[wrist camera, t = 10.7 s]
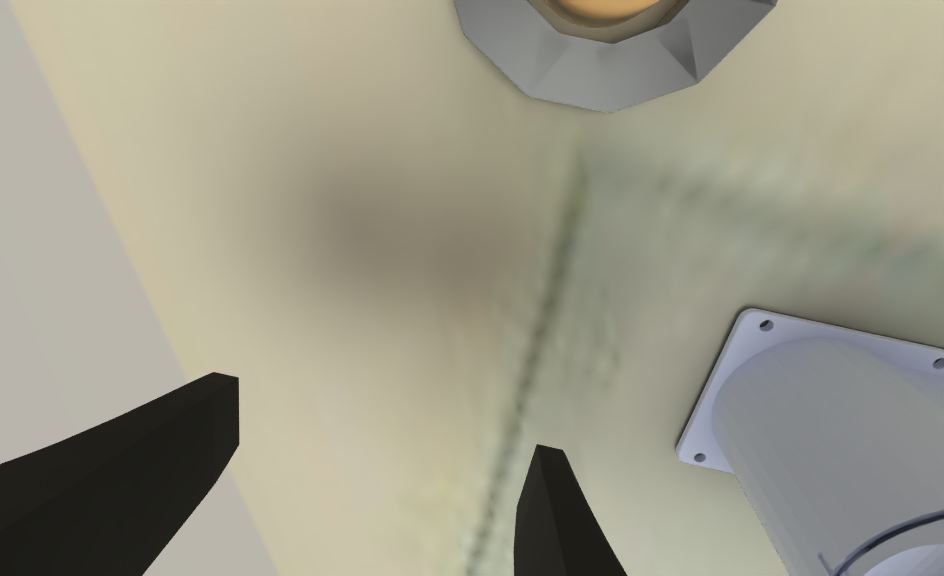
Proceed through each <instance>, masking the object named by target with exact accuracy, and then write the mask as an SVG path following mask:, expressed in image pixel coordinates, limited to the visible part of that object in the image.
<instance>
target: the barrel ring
mask: <svg viewBox="0 0 944 576" xmlns="http://www.w3.org/2000/svg"><path fill="white" fill-rule="evenodd" d="M453 1H454V4H455V7H456V10H457V14H458V17H459V20H460V23H461V27H462V30H463V33H464V35H465V36H466V37H467V38H468V39H469V40H470V41H471V42H472V43H473V44H474V45H475V46H476V47H477V48H478V49H479V50H480V51H481V52H482V53H483V54H484V55H485V56H487V57H488V58H489V59H490V60H491V61H492V62H493V63H494V64H495V65H496V66H497V67H498V68H499V69H500V70H501V71H502V72H503V73H504V74H505V75H506V76H507V77H508V78H509V79H510V80H511V81H512V82H513V83H514V84H515V85H516V86H517V87H519V88H520V89H521V90H522V91H523V92H524V93H525V94H526V95H527V96H529V97H533V98H538V99H543V100H548V101H552V102H557V103H562V104H567V105H571V106H576V107H581V108H586V109H591V110H595V111H600V112H605V113H610V114H611V113H613V112H616V111H619V110H622V109H625V108H628V107H631V106H634V105H637V104H640V103H643V102H646V101H648V100H651V99H654V98H657V97H660V96H663V95H666V94H669V93H672V92H675V91H678V90H681V89H683V88H686V87H689V86H692V85H695V84H698V83H699V82H700V81H701V80H702V79H703V78H704V77H705V76H706V75H707V74H708V73H709V72H710V71H711V70H712V69H713V68H714V67H715V66H716V65H717V64H718V63H719V62H720V61H721V60H722V59H723V58H724V57H725V56H726V55H727V54H728V53H729V52H730V51H731V50H732V49H733V48H734V47H735V46H736V45H737V44H738V43H739V42H740V41H741V40H742V39H743V38H744V37H745V36H746V35H747V34H748V33H749V32H750V31H751V30H752V29H753V28H754V27H755V26H756V25H757V24H758V23H759V22H760V21H761V20H762V19H763V18H764V17H765V16H766V15H767V14H768V13H769V12H770V11H771V10H772V9H773V8H774V7H775V6H776V3H777V1H778V0H679V1H678V2H677V4H676V5H675V6H674V7H673V8H672V9H671V10H670V11H669V12H668V13H667V15H666V16H665V17H664V18H663V19H662V20H661V21H660V22H659V23H658V24H657V26H656V27H655V28H654V29H652V30H650V31H647V32H644V33H642V34H639V35H636V36H634V37H631V38H628V39H626V40H623V41H620V42H618V43H615V44H609V43H604V42H599V41H594V40H589V39H585V38H580V37H575V36H570V35H565V34H560V33H558V32H557V31H556V30H555V29H554V28H553V27H552V26H551V25H550V24H549V23H548V22H547V21H546V20H545V19H544V18H543V16H542V15H541V14H540V13H539V12H538V11H537V10H536V9H535V8H534V7H533V6H532V5H531V4H530V3H529V2H528V1H527V0H453Z"/></svg>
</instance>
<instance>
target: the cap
mask: <svg viewBox="0 0 944 576" xmlns="http://www.w3.org/2000/svg"><path fill="white" fill-rule="evenodd" d="M545 1H546V2H547V4H548V5H549V6H550V7H551V8H552V9H553V10H554V11H555V12H556V13H557V14H558V15H560V16H561V17H562V18H564V19H566V20H567V21H569V22H571V23H574V24H577V25H579V26H584V27H589V28H602V27H610V26H614V25H618V24H620V23H623V22H625V21H628V20H629V19H631V18H633V17H635V16H637V15H638V14H640V13H641V12H643V11H644V10H646V9H647V8H649V7H651V6H652V5H654V4H655V3H657V2H658V1H660V0H545Z"/></svg>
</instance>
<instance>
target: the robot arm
mask: <svg viewBox="0 0 944 576" xmlns="http://www.w3.org/2000/svg"><path fill="white" fill-rule="evenodd" d="M765 320H769V323H768V324H767V325H766V326H764V327H760V324H761V323H762V322H763V321H765ZM939 358H940V359H939ZM937 359H939V360H938V361H937V362H936V363H934V362H935V361H936V360H937ZM933 363H934V364H933ZM238 446H239V378H238V377H234V376H229V375H225V374H220V373H216V372H213V373H210V374H208V375H206V376H203V377H201V378H199V379H197V380H195V381H192V382H190V383H188V384H186V385H184V386H182V387H180V388H178V389H176V390H174V391H171V392H169V393H167V394H165V395H163V396H161V397H159V398H157V399H155V400H153V401H150V402H148V403H146V404H144V405H142V406H140V407H138V408H136V409H133V410H131V411H129V412H127V413H125V414H123V415H121V416H118V417H116V418H114V419H112V420H109V421H107V422H105V423H102V424H100V425H98V426H95V427H93V428H91V429H88V430H86V431H84V432H81V433H79V434H77V435H74V436H72V437H70V438H68V439H65V440H63V441H60V442H58V443H55V444H53V445H50V446H48V447H45V448H43V449H40V450H37V451H35V452H32V453H30V454H27V455H24V456H22V457H19V458H16V459H13V460H11V461H7V462H5V463H2V464H0V576H142V575H143V574H144V572H145V571H146V570H147V569H148V567H149V566H150V565H151V564H152V563H153V561H154V560H155V559H156V557H157V556H158V555H159V554H160V553H161V551H162V550H163V549H164V548H165V546H166V545H167V544H168V543H169V541H170V540H171V539H172V538H173V536H174V535H175V534H176V533H177V531H178V530H179V529H180V528H181V526H182V525H183V523H185V521H186V520H187V519H188V517H189V516H190V515H191V514H192V512H193V511H194V510H195V509H196V507H197V506H198V505H199V504H200V502H201V501H202V500H203V499H204V497H205V496H206V495H207V493H208V492H209V491H210V489H211V488H212V487H213V486H214V484H215V483H216V481H217V480H218V478H219V477H220V475H221V473H222V471H223V470H224V469H225V467H226V466H227V464H228V462H229V461H230V459H231V457H232V456H233V454H234V452H235V451H236V449H237V447H238ZM698 453H702V454H701V455H699V456H695V455H696V454H698ZM676 454H677V456H678V459H679V460H680V461H682V462H684V463H688V464H693V465H697V466H702V467H706V468H711V469H715V470H720V471H724V472H729V473H733V474H735V476H736V478H737V480H738V482H739V484H740V485H741V487H742V489H743V491H744V493H745V495H746V496H747V498H748V500H749V502H750V504H751V506H752V507H753V509H754V511H755V513H756V515H757V517H758V518H759V520H760V522H761V524H762V526H763V528H764V529H765V531H766V533H767V535H768V537H769V539H770V540H771V542H772V544H773V546H774V548H775V550H776V551H777V553H778V555H779V557H780V559H781V561H782V562H783V564H784V566H785V568H786V570H787V572H788V573H789V575H790V576H944V349H940V348H936V347H931V346H927V345H922V344H917V343H913V342H908V341H903V340H899V339H894V338H890V337H885V336H880V335H876V334H871V333H866V332H862V331H857V330H853V329H848V328H843V327H839V326H834V325H829V324H825V323H820V322H815V321H811V320H806V319H802V318H797V317H792V316H788V315H783V314H778V313H774V312H769V311H765V310H760V309H754V308H750V309H747V310H745V311H743V312H742V313H741V314H740V315H739V316H738V318H737V320H736V323H735V325H734V327H733V329H732V331H731V333H730V335H729V337H728V339H727V342H726V344H725V346H724V348H723V350H722V352H721V354H720V356H719V358H718V361H717V363H716V365H715V367H714V369H713V371H712V373H711V375H710V377H709V380H708V382H707V384H706V386H705V388H704V390H703V392H702V394H701V397H700V399H699V401H698V403H697V405H696V407H695V409H694V411H693V413H692V416H691V418H690V420H689V422H688V424H687V426H686V428H685V430H684V432H683V435H682V437H681V439H680V441H679V443H678V445H677V447H676ZM514 576H627V574H626V572H625V571H624V569H623V567H622V566H621V564H620V562H619V560H618V559H617V557H616V555H615V554H614V552H613V550H612V548H611V547H610V545H609V543H608V541H607V539H606V538H605V536H604V534H603V532H602V530H601V528H600V526H599V524H598V522H597V520H596V518H595V517H594V515H593V513H592V511H591V509H590V507H589V505H588V503H587V501H586V499H585V497H584V494H583V492H582V490H581V488H580V486H579V484H578V482H577V479H576V477H575V475H574V473H573V471H572V468H571V466H570V464H569V461H568V459H567V457H566V455H565V453H564V451H563V450H561V449H556V448H552V447H547V446H543V445H538V444H537V445H536V448H535V452H534V455H533V458H532V461H531V464H530V467H529V470H528V474H527V477H526V480H525V483H524V486H523V489H522V493H521V496H520V499H519V502H518V505H517V512H516V525H515V538H514Z"/></svg>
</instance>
